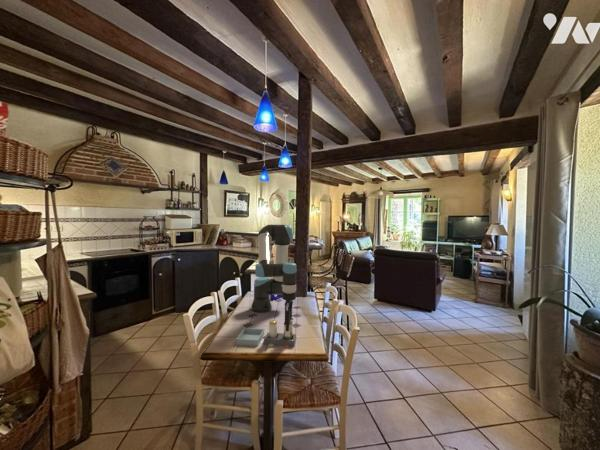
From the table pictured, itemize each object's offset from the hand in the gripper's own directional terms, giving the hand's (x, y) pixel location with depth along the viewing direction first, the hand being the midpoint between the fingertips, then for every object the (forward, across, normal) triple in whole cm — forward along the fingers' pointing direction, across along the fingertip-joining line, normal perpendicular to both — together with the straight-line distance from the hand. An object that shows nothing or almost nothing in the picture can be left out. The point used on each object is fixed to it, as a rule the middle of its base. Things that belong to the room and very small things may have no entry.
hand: (288, 333), depth 139 cm
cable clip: (+5, -76, -20) cm, 79 cm away
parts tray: (+5, -1, -21) cm, 22 cm away
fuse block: (+5, 0, -4) cm, 6 cm away
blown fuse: (+3, 0, 0) cm, 3 cm away
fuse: (+4, 0, -8) cm, 9 cm away
